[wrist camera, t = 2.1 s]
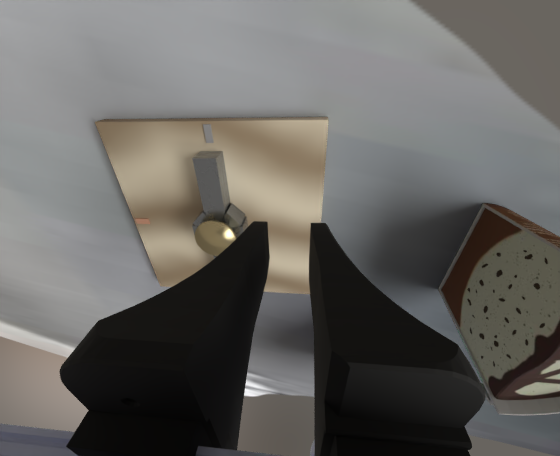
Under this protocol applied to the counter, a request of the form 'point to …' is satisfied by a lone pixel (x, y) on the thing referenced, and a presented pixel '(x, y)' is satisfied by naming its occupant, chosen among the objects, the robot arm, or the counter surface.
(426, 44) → the counter surface
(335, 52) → the counter surface
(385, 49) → the counter surface
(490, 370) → the food container
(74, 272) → the counter surface
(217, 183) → the t key
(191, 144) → the plate
